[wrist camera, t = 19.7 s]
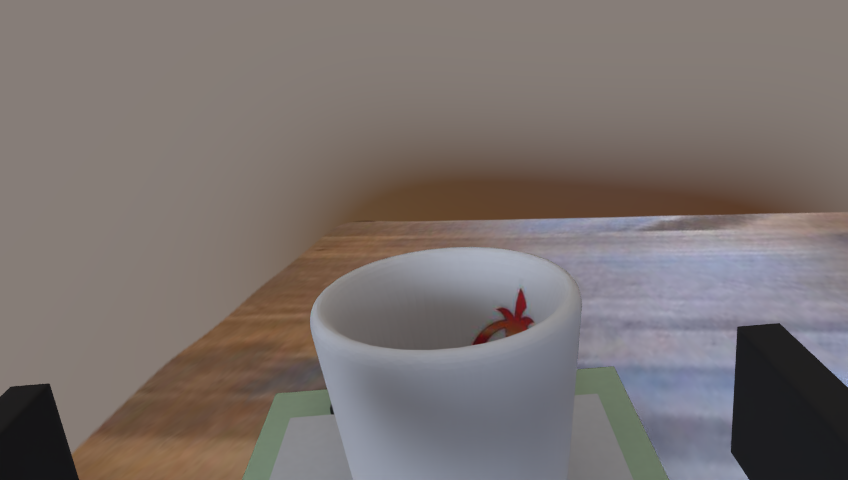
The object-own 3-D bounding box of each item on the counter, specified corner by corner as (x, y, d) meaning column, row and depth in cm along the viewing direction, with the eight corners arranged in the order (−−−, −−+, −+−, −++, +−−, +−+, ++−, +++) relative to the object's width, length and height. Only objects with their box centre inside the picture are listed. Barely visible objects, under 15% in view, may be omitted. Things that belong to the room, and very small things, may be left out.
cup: (267, 471, 27) (227, 275, 24) (434, 390, 31) (415, 216, 28) (445, 663, 18) (413, 392, 16) (640, 515, 23) (640, 283, 20)
